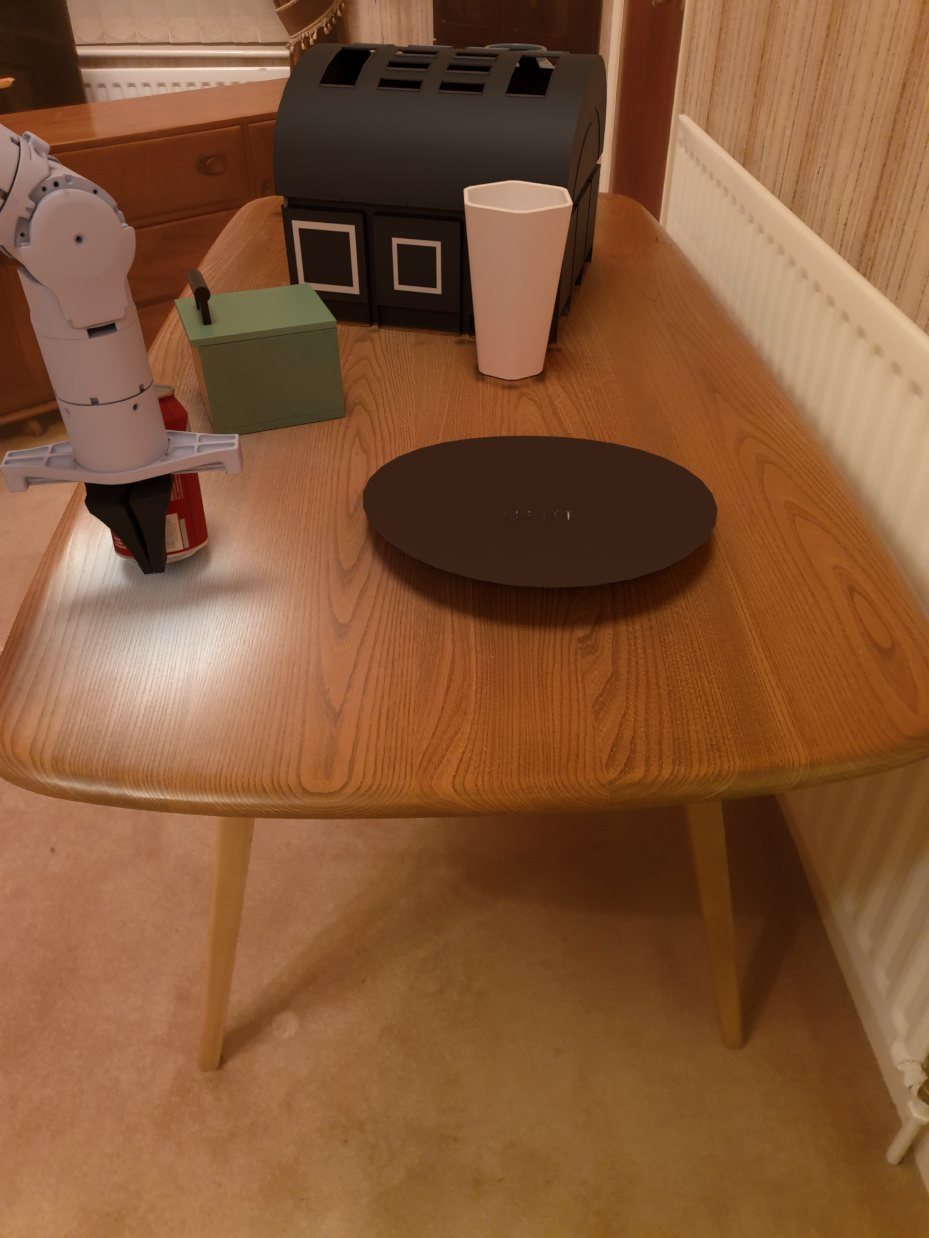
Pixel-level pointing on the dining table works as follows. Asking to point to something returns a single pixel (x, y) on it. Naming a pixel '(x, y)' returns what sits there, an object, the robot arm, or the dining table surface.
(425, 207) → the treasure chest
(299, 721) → the dining table surface
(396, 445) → the dining table surface
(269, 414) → the bin
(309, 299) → the bread bin lid
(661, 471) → the plate
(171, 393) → the soda can
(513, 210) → the cup
